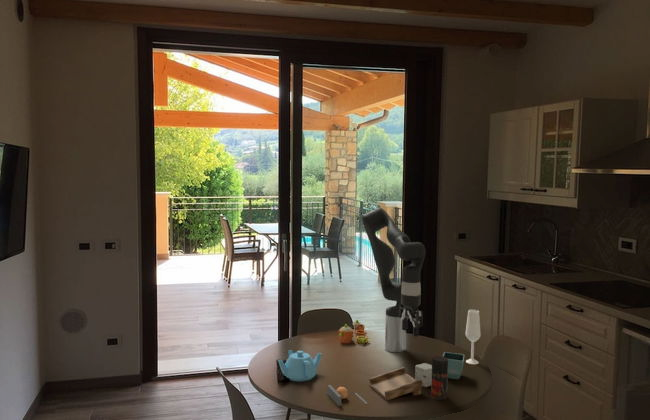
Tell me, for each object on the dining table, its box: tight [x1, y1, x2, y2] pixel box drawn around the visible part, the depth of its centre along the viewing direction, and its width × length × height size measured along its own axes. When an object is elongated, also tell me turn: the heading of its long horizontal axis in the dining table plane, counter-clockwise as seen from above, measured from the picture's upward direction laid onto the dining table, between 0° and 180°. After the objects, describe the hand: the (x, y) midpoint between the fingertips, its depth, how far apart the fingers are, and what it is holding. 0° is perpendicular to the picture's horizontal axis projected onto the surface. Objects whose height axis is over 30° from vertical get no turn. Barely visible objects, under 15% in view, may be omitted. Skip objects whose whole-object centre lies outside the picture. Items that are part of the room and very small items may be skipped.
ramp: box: [368, 366, 423, 401], centre depth 200 cm, size 16×14×6 cm
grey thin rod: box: [353, 392, 369, 405], centre depth 194 cm, size 1×15×1 cm, turn 22°
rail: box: [326, 384, 343, 407], centre depth 190 cm, size 1×11×4 cm, turn 21°
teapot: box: [277, 349, 322, 382], centre depth 212 cm, size 15×15×11 cm
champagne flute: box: [464, 309, 482, 365], centre depth 231 cm, size 7×7×24 cm
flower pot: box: [442, 351, 465, 380], centre depth 214 cm, size 9×9×9 cm
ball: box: [335, 386, 349, 400], centre depth 191 cm, size 4×4×4 cm
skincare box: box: [414, 362, 432, 388], centre depth 207 cm, size 6×6×7 cm
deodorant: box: [430, 355, 448, 401], centre depth 194 cm, size 6×6×15 cm
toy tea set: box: [338, 319, 370, 346], centre depth 265 cm, size 26×16×10 cm, turn 179°
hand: (410, 333), depth 201 cm, fingers open, 8 cm apart
